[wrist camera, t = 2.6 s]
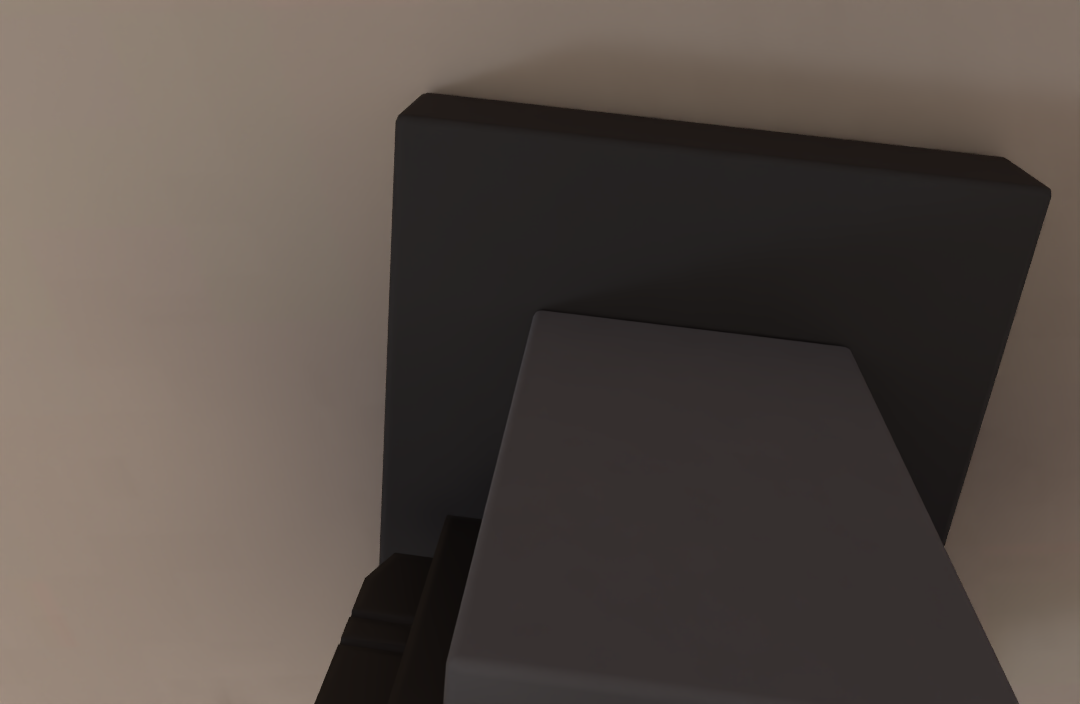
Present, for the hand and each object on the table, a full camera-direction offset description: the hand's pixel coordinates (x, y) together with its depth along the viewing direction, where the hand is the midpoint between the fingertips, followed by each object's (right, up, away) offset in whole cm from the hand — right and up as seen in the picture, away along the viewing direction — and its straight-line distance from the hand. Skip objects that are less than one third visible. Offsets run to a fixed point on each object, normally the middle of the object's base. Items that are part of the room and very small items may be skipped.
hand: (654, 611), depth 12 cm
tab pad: (0, -1, +3) cm, 4 cm away
